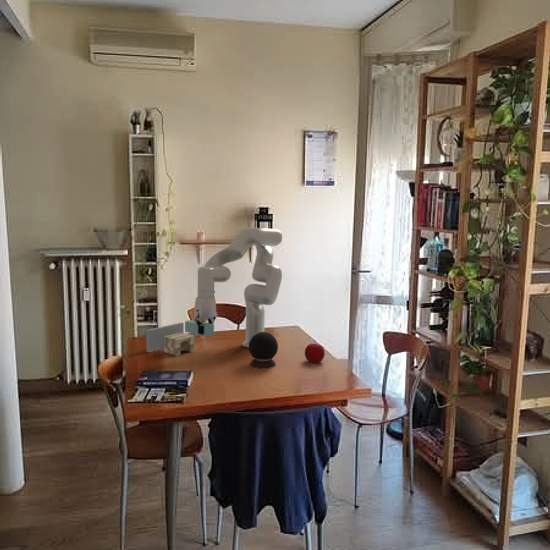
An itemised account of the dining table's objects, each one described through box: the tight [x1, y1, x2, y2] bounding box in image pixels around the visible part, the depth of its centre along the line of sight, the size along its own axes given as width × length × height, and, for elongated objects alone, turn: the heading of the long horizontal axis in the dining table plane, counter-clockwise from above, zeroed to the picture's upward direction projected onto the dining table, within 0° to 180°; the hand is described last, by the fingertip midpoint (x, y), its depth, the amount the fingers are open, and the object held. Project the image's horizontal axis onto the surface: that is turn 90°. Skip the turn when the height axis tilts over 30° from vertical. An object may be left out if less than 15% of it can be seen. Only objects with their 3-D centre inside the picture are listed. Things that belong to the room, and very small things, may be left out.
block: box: [163, 332, 195, 357], centre depth 257 cm, size 9×11×8 cm
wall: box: [145, 322, 185, 353], centre depth 263 cm, size 2×22×11 cm, turn 141°
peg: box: [184, 319, 215, 338], centre depth 246 cm, size 14×5×5 cm, turn 51°
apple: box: [304, 340, 326, 364], centre depth 245 cm, size 9×9×10 cm
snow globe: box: [248, 331, 279, 369], centre depth 239 cm, size 13×13×15 cm
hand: (205, 332), depth 244 cm, fingers closed on peg, 5 cm apart
